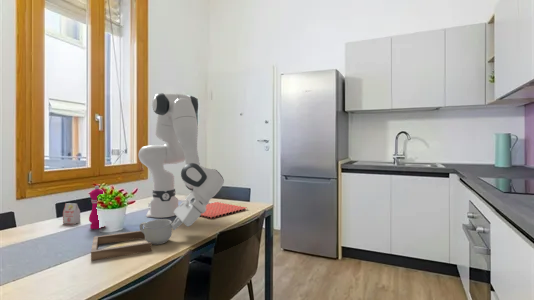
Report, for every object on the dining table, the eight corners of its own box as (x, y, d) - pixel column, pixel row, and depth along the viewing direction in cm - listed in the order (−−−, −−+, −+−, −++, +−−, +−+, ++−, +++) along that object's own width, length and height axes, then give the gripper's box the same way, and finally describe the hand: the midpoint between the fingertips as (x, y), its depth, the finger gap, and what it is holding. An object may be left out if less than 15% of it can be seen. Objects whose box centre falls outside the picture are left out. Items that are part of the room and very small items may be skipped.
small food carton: (69, 221, 155) (68, 202, 154) (80, 222, 153) (79, 203, 153) (63, 223, 151) (62, 204, 151) (74, 224, 149) (73, 204, 149)
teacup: (178, 239, 124) (177, 220, 124) (157, 248, 115) (156, 227, 114) (154, 235, 131) (153, 217, 130) (132, 243, 121) (131, 223, 121)
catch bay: (93, 244, 120) (93, 236, 120) (146, 236, 129) (146, 229, 129) (91, 260, 104) (90, 252, 103) (151, 250, 112) (151, 242, 112)
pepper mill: (98, 229, 140) (97, 187, 139) (85, 229, 141) (84, 186, 141) (109, 225, 147) (109, 184, 146) (97, 224, 148) (96, 184, 148)
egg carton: (216, 204, 196) (216, 201, 196) (247, 210, 178) (247, 207, 178) (179, 213, 175) (179, 209, 175) (211, 220, 157) (210, 216, 157)
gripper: (184, 193, 137) (162, 218, 133) (196, 201, 119) (171, 229, 115) (194, 202, 140) (173, 226, 135) (207, 211, 121) (183, 239, 117)
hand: (172, 228), depth 125 cm, fingers closed, pressing on teacup
